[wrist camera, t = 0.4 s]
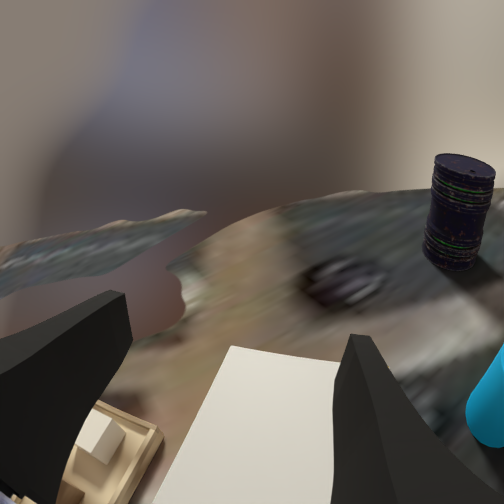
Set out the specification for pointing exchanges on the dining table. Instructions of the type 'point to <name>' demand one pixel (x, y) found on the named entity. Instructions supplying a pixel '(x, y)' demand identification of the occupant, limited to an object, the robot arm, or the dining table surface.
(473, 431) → the mug
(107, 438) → the off-white square block
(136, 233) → the dining table surface
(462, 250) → the storage jar
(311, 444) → the dock
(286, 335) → the dining table surface
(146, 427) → the tan open box
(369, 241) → the dining table surface
